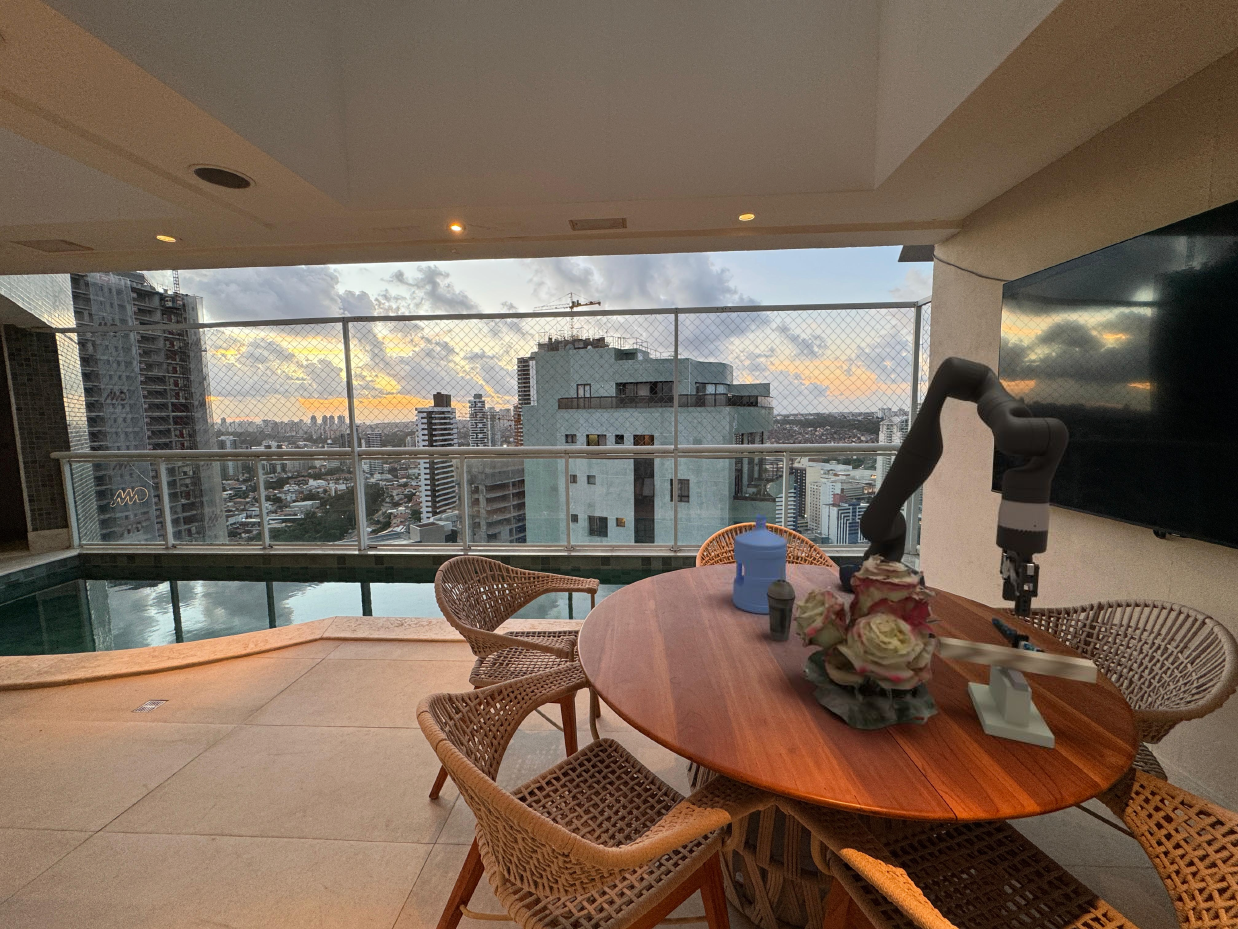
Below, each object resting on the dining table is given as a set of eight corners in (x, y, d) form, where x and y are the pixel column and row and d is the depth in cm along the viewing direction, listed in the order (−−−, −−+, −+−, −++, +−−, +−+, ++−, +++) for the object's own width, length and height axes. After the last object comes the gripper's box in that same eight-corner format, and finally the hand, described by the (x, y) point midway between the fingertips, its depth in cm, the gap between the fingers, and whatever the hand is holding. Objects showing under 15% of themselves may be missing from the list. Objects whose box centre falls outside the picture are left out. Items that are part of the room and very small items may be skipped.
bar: (940, 656, 101) (941, 642, 101) (937, 650, 104) (938, 636, 104) (1095, 683, 91) (1097, 667, 91) (1088, 675, 94) (1090, 660, 94)
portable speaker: (834, 591, 169) (836, 562, 168) (841, 583, 177) (842, 555, 176) (922, 608, 154) (924, 576, 153) (925, 598, 162) (927, 568, 161)
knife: (1046, 670, 114) (1047, 650, 114) (1030, 667, 115) (1031, 648, 115) (1002, 630, 143) (1003, 615, 142) (989, 629, 144) (990, 613, 144)
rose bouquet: (779, 666, 119) (783, 541, 116) (905, 667, 118) (912, 541, 115) (821, 735, 93) (827, 577, 90) (981, 737, 93) (993, 578, 90)
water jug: (790, 602, 159) (793, 514, 156) (776, 619, 146) (779, 523, 143) (742, 592, 167) (744, 509, 165) (725, 608, 154) (727, 517, 151)
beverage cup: (794, 633, 136) (796, 561, 134) (794, 645, 129) (796, 569, 127) (766, 630, 139) (768, 558, 137) (764, 641, 132) (766, 566, 130)
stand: (1053, 748, 90) (1058, 692, 89) (985, 733, 94) (989, 679, 93) (1026, 701, 104) (1030, 653, 103) (967, 690, 108) (971, 643, 107)
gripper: (1061, 534, 87) (1053, 625, 89) (1035, 519, 100) (1028, 598, 101) (1008, 530, 90) (1000, 618, 92) (989, 515, 103) (982, 592, 105)
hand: (1015, 607), depth 97 cm, fingers open, 8 cm apart
